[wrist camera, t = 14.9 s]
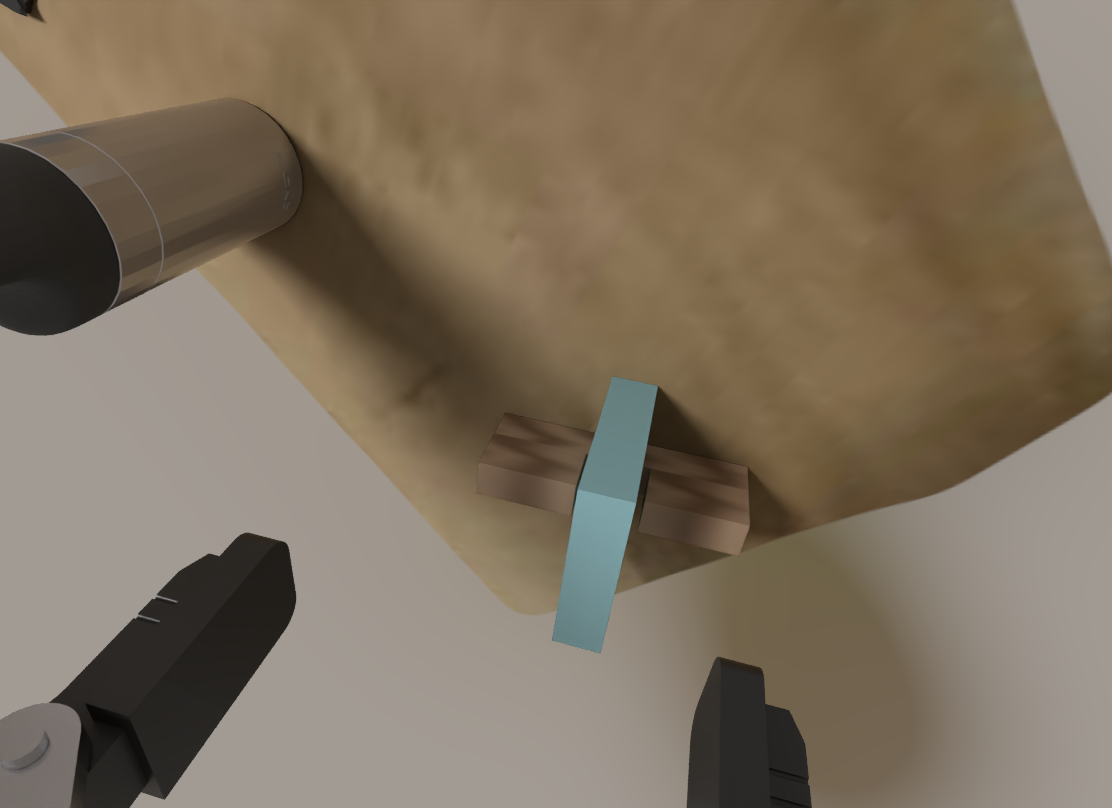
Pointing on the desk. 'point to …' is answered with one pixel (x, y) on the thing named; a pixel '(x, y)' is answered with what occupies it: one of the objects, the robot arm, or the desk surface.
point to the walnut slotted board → (666, 485)
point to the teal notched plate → (604, 514)
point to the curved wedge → (18, 6)
